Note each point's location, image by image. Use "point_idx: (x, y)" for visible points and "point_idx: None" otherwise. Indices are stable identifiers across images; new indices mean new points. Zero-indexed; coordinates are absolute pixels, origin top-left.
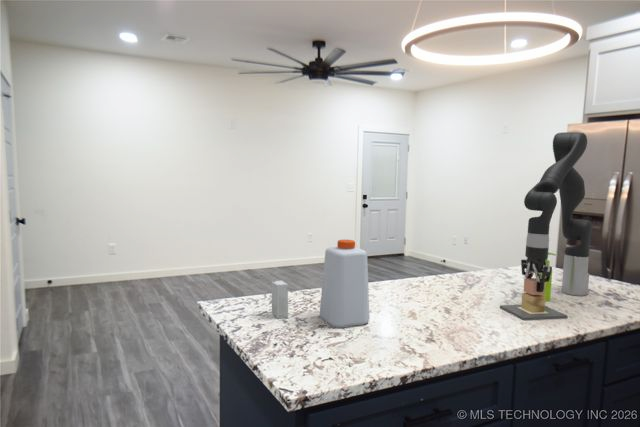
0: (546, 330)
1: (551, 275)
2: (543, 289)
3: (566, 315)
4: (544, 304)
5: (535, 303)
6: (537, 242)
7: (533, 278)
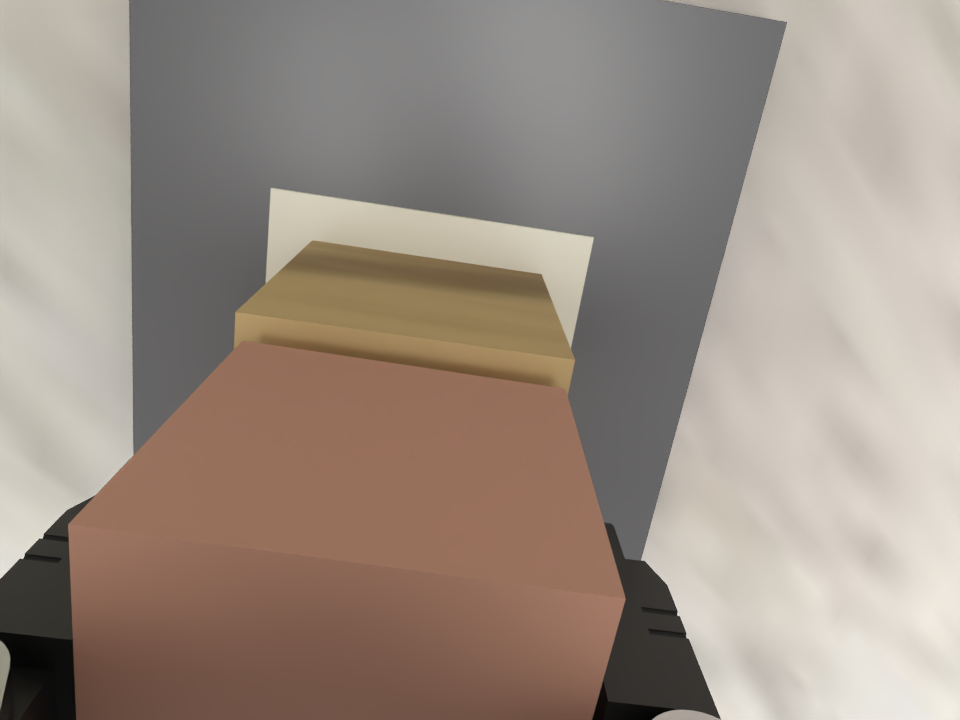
0: (913, 652)
1: None
2: (670, 597)
3: (779, 43)
4: (554, 314)
5: None
6: None
7: (124, 660)
